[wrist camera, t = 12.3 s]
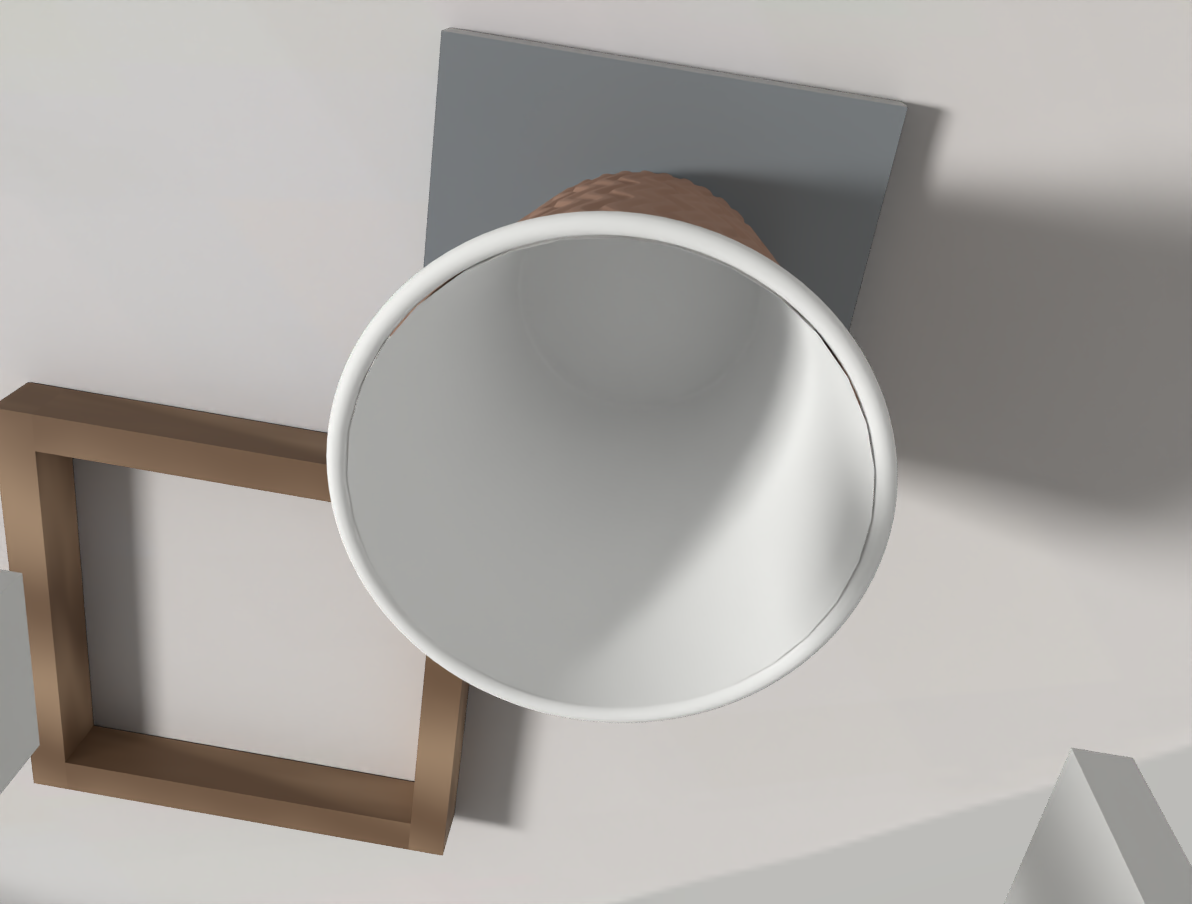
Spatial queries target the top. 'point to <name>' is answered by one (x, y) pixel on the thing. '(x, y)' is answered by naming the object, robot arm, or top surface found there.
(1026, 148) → the top surface
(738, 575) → the coffee cup
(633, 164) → the slate coaster
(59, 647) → the brown wooden square frame
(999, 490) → the top surface
